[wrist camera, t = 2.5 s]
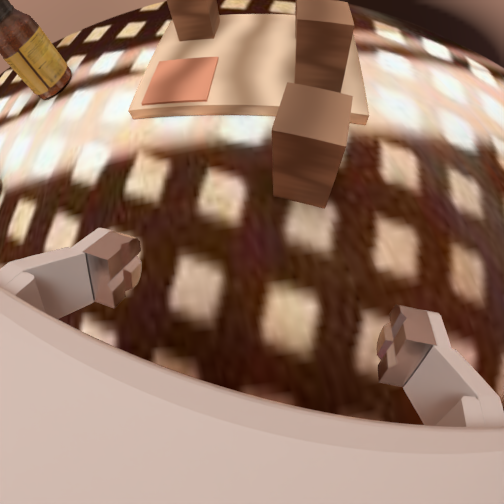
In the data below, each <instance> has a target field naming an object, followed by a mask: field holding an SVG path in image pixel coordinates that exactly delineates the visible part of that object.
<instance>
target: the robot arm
mask: <svg viewBox="0 0 504 504" xmlns="http://www.w3.org/2000/svg"><path fill="white" fill-rule="evenodd" d="M140 251H141V248H140V241H139V240H138V239H137V238H135V237H132V236H128V235H125V234H122V233H118V232H115V231H112V230H108V229H104V228H98V229H96V230H95V231H94V232H92V233H91V234H89V235H88V236H86V237H85V238H84V239H82V240H81V241H79V242H78V243H77V244H75V245H74V246H73V247H71V248H69V247H65V248H61V249H57V250H53V251H49V252H45V253H42V254H38V255H34V256H30V257H26V258H23V259H19V260H15V261H11V262H9V263H8V264H6V265H5V266H4V267H2V268H1V269H0V504H504V411H503V407H502V403H501V400H500V397H499V396H498V395H497V394H496V393H495V392H494V390H493V389H492V388H491V387H490V386H489V385H488V384H487V383H486V381H485V380H484V379H483V378H482V377H481V376H480V375H479V374H478V373H477V372H476V371H475V369H474V368H473V367H472V366H471V365H470V364H469V363H468V362H467V361H466V360H465V359H464V358H463V357H462V356H461V355H460V354H459V352H458V351H457V350H456V349H452V348H451V345H450V342H449V339H448V336H447V332H446V329H445V327H444V324H443V321H442V318H441V315H440V314H439V313H436V312H431V311H425V310H419V309H415V308H410V307H405V306H400V305H395V306H394V308H393V309H392V311H391V313H390V315H389V316H390V322H389V323H388V324H386V325H384V326H383V328H382V330H381V332H380V335H379V338H378V342H377V355H378V357H379V358H380V359H381V361H380V363H379V365H378V377H379V383H384V384H389V385H395V386H400V387H403V389H404V391H405V393H406V394H407V396H408V398H409V399H410V401H411V403H412V405H413V406H414V408H415V410H416V411H417V413H418V415H419V417H420V418H421V420H422V422H423V424H424V425H414V424H403V423H393V422H385V421H377V420H369V419H362V418H356V417H349V416H343V415H338V414H332V413H327V412H321V411H316V410H312V409H307V408H302V407H298V406H293V405H289V404H284V403H280V402H276V401H272V400H268V399H264V398H261V397H257V396H253V395H249V394H246V393H242V392H239V391H235V390H232V389H228V388H225V387H222V386H219V385H215V384H212V383H209V382H206V381H203V380H200V379H197V378H194V377H191V376H188V375H185V374H182V373H180V372H177V371H174V370H171V369H169V368H166V367H163V366H160V365H158V364H155V363H153V362H150V361H148V360H145V359H143V358H140V357H138V356H135V355H133V354H130V353H128V352H126V351H123V350H121V349H119V348H116V347H114V346H112V345H110V344H107V343H105V342H103V341H101V340H99V339H96V338H94V337H92V336H90V335H88V334H86V333H84V332H82V331H80V330H78V329H76V328H74V327H72V326H70V325H68V324H66V323H64V322H62V321H60V320H58V319H59V318H61V317H63V316H65V315H67V314H70V313H72V312H74V311H76V310H78V309H80V308H82V307H85V306H87V305H89V304H91V303H93V302H94V301H96V302H99V303H101V304H104V305H107V306H109V307H112V308H116V307H117V305H118V304H119V303H120V302H121V301H122V300H123V299H124V298H125V297H126V295H125V291H127V290H130V289H133V288H134V287H135V286H136V284H137V283H138V281H139V278H140V276H141V270H142V265H141V261H140V259H139V258H138V256H137V255H138V254H139V252H140Z"/></svg>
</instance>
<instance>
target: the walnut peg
mask: <svg viewBox="0 0 504 504" xmlns="http://www.w3.org/2000/svg"><path fill="white" fill-rule="evenodd" d="M352 100H353V96H351V95H347V94H343V93H338V92H334V91H330V90H325V89H321V88H316V87H311V86H306V85H301V84H295V83H290V82H287V85H286V88H285V91H284V94H283V97H282V100H281V103H280V106H279V109H278V112H277V115H276V118H275V121H274V124H273V128H272V159H273V196H275V197H279V198H283V199H288V200H292V201H296V202H300V203H305V204H309V205H313V206H317V207H321V208H325V207H326V204H327V201H328V198H329V195H330V192H331V190H332V187H333V184H334V181H335V178H336V175H337V172H338V169H339V166H340V163H341V160H342V157H343V154H344V151H345V148H346V143H347V136H348V130H349V122H350V115H351V107H352Z"/></svg>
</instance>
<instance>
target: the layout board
mask: <svg viewBox="0 0 504 504" xmlns="http://www.w3.org/2000/svg"><path fill="white" fill-rule="evenodd" d="M167 3H168V6H169V10H170V13H171V16H172V19H173V20H171V22H170V24H169V26H168V28H167V29H166V31H165V33H164V35H163V37H162V39H161V41H160V42H159V44H158V46H157V48H156V50H155V52H154V54H153V56H152V58H151V60H150V62H149V65H148V67H147V69H146V71H145V73H144V75H143V77H142V80H141V82H140V84H139V86H138V89H137V91H136V93H135V95H134V98H133V100H132V103H131V105H130V107H129V110H128V111H129V113H130V114H131V116H132V118H133V119H138V118H150V117H165V116H185V115H264V116H276V115H277V112H278V109H279V106H280V103H281V100H282V97H283V94H284V91H285V88H286V85H287V82H290V83H295V84H301V85H306V86H311V87H316V88H321V89H325V90H330V91H334V92H338V93H343V94H347V95H351V96H353V100H352V107H351V115H350V122H349V123H357V124H364V125H366V122H367V120H368V117H369V112H368V105H367V99H366V93H365V88H364V82H363V77H362V72H361V67H360V62H359V57H358V53H357V48H356V44H355V39H354V35H353V30H354V23H353V19H352V16H351V12H350V9H349V5H348V2H342V1H338V0H296V15H282V14H234V15H219V12H218V7H217V1H216V0H167Z"/></svg>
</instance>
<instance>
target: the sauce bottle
mask: <svg viewBox="0 0 504 504" xmlns="http://www.w3.org/2000/svg"><path fill="white" fill-rule="evenodd" d="M0 54H1V55H2V56H3V59H4V60H5V61H6V62H7V63H8V64H9V65H10V66H11V68H12V69H13V70H14V71H15V72H16V73H17V74H18V75H19V76H20V78H21V79H22V80H23V81H24V82H25V83H26V84H27V85H28V87H29V88H30V89H31V90H32V91H33V92H34V93H35V94H37V95H38V96H39V97H41V98H42V99H46V98H49V97H51V96H53V95H55V94H57V93H58V92H59V91H60V90H61V89H62V88H63V87H64V86H65V85H66V84H67V82H68V81H69V79H70V76H71V71H70V69H69V67H68V66H67V63H66V62H65V61H64V59H63V58H62V57H61V55H60V54H59V53H58V51H57V50H56V49H55V47H54V46H53V44H52V43H51V42H50V40H49V39H48V38H47V36H46V35H45V33H44V32H43V31H42V29H41V28H40V27H39V25H38V24H37V23H36V22H35V21H34V20H33V19H32V18H31V17H30V16H29V15H27V14H24V13H22V12H20V11H18V10H16V9H15V8H14V7H13V6H12V5H11V4H10V2H9V1H8V0H0Z"/></svg>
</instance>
